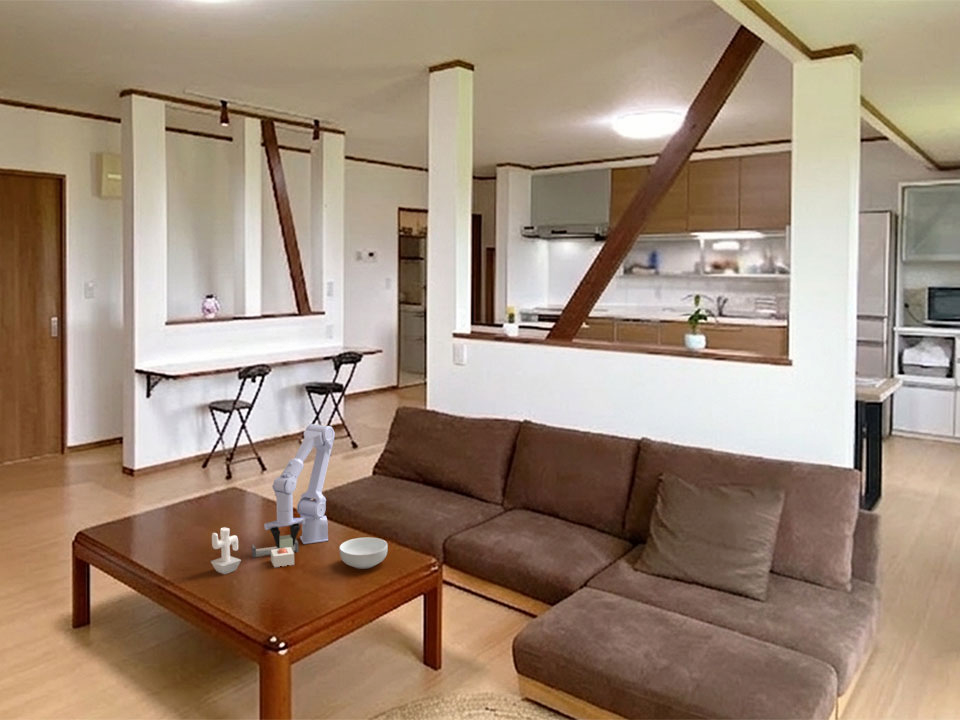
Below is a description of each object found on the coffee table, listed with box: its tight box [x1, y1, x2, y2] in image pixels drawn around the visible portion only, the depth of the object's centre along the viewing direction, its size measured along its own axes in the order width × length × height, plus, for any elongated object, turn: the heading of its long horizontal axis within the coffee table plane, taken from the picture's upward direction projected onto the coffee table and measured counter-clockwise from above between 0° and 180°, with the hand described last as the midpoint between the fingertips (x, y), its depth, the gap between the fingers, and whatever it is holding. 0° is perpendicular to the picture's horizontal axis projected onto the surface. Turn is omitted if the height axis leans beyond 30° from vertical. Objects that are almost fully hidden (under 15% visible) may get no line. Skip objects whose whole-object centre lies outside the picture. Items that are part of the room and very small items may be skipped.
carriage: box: [279, 534, 293, 550], centre depth 284 cm, size 5×5×5 cm
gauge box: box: [270, 547, 295, 568], centre depth 274 cm, size 7×7×4 cm
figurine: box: [210, 526, 242, 575], centre depth 265 cm, size 7×9×15 cm
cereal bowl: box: [339, 536, 389, 570], centre depth 272 cm, size 17×17×7 cm
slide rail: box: [251, 538, 299, 559], centre depth 283 cm, size 16×4×4 cm, turn 113°
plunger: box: [278, 548, 287, 554], centre depth 274 cm, size 3×3×4 cm
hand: (285, 545), depth 284 cm, fingers closed on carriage, 5 cm apart
